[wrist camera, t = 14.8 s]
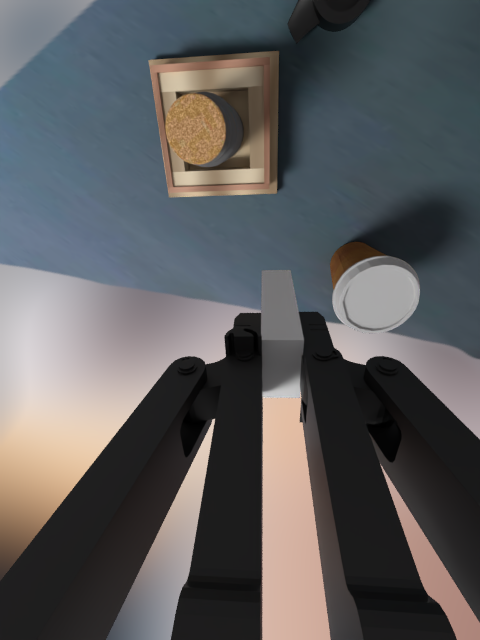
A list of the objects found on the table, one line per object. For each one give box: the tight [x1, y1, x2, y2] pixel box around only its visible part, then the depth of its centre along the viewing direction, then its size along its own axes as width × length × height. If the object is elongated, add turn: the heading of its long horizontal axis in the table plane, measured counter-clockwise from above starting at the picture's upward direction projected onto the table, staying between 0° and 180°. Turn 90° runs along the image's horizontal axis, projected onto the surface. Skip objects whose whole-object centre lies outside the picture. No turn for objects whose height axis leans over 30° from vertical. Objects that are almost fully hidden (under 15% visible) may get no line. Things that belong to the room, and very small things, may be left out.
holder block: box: [149, 51, 279, 197], centre depth 36 cm, size 14×14×4 cm
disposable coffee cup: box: [330, 242, 420, 334], centre depth 40 cm, size 10×10×12 cm
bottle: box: [165, 92, 244, 167], centre depth 30 cm, size 6×6×15 cm
